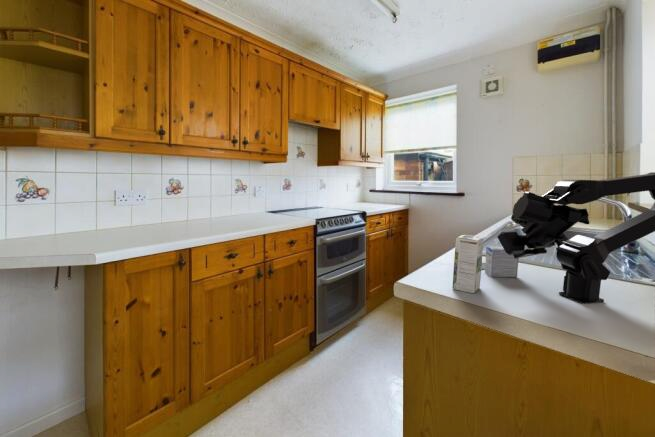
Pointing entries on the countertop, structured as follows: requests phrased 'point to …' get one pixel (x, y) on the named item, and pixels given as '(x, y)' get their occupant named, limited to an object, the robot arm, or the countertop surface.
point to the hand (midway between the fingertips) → (515, 257)
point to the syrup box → (467, 263)
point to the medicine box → (500, 263)
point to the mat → (483, 266)
